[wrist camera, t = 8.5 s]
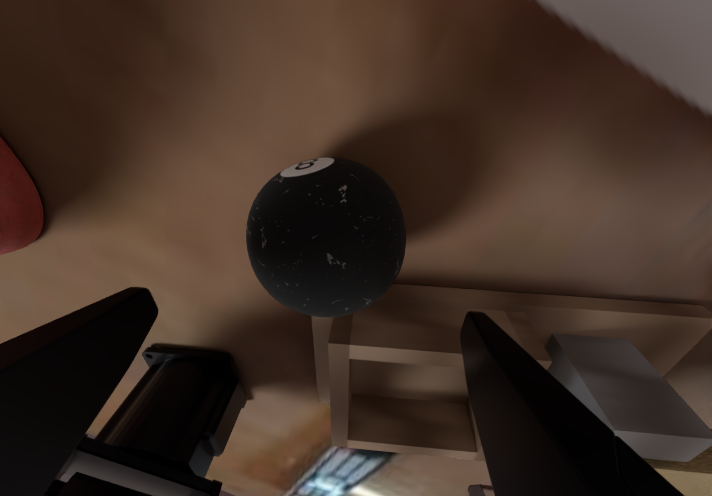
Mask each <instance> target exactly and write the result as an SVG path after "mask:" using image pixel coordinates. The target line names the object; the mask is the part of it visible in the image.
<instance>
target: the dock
mask: <svg viewBox="0 0 712 496" xmlns="http://www.w3.org/2000/svg"><path fill="white" fill-rule="evenodd" d="M468 311H479V312H484V313H485V314H487V315H488V316H489V317H490V318H491V319H492V320H493V321H494V322H495V323H496V324H497V325H499V326H500V327H501V328H502V329H503V330H504V331H505V332H506V333H507V334H508V335H509V336H510V337H512V338H513V339H514V340H515V341H516V342H517V343H518V344H519V345H520V346H521V347H522V348H523V349H525V350H526V351H527V352H528V353H529V354H530V355H531V356H532V357H533V358H534V359H535V360H536V361H538V362H539V363H540V364H541V365H542V366H543V367H544V368H545V369H546V370H547V371H548V372H549V373H551V374H552V375H553V376H554V377H555V378H556V379H557V380H558V381H559V382H560V383H561V384H562V385H564V386H565V387H566V388H567V389H568V390H569V391H570V392H571V393H572V394H573V395H574V396H575V397H576V398H578V399H579V400H580V401H581V402H582V403H583V404H584V405H585V406H586V407H587V408H588V409H589V410H591V411H592V412H593V413H594V414H595V415H596V416H597V417H598V418H599V419H600V420H601V421H602V422H604V423H605V424H606V425H607V426H608V427H609V428H610V429H611V430H612V431H613V432H614V433H615V436H619V437H620V438H621V439H622V440H623V441H624V442H625V443H626V444H628V445H629V446H630V447H631V448H632V449H633V450H634V451H635V452H636V453H637V454H638V455H639V456H641V457H642V458H649V459H659V460H670V461H680V462H688V461H690V460H691V459H693V458H694V457H696V456H697V455H698V454H700V453H701V452H703V451H704V450H706V449H707V448H709V447H710V446H712V431H711V430H710V429H709V428H708V426H707V425H706V424H705V423H704V422H703V421H702V420H701V419H700V418H699V417H698V415H697V414H696V413H695V412H694V411H693V410H692V409H691V408H690V407H689V406H688V404H687V403H686V402H685V401H684V400H683V399H682V398H681V397H680V396H679V395H678V393H677V392H676V391H675V390H674V389H673V388H672V387H671V386H670V385H669V384H668V382H667V381H666V380H665V379H664V378H663V377H664V376H665V375H666V374H667V373H668V372H669V371H670V370H671V369H672V368H673V367H674V366H675V365H676V364H677V363H678V362H679V361H680V360H681V359H682V358H683V357H684V356H685V355H686V354H687V353H688V352H689V351H690V350H691V349H692V348H693V347H694V346H695V345H696V344H697V343H698V342H699V341H700V340H701V339H702V338H703V337H704V336H705V335H706V334H707V333H708V332H709V331H710V330H711V329H712V312H710V311H709V310H708V309H706V308H705V307H704V306H702V305H690V304H675V303H661V302H647V301H632V300H618V299H604V298H589V297H575V296H561V295H546V294H532V293H518V292H503V291H489V290H475V289H460V288H446V287H432V286H417V285H403V284H392V286H391V287H390V288H389V289H388V291H387V292H386V293H385V294H384V295H383V296H382V297H381V298H379V299H378V300H377V301H376V302H374V303H373V304H371V305H370V306H368V307H366V308H364V309H362V310H360V311H358V312H355V313H352V314H348V315H344V316H339V317H328V318H327V317H316V316H311V319H312V331H313V344H314V356H315V368H316V381H317V393H318V402H321V403H330V407H331V432H332V446H338V447H348V448H358V449H368V450H378V451H388V452H398V453H408V454H418V455H428V456H438V457H448V458H458V459H468V460H478V461H486V460H485V457H484V453H483V449H482V445H481V441H480V438H479V434H478V430H477V426H476V423H475V419H474V415H473V411H472V407H471V403H470V399H469V395H468V389H467V383H466V376H465V370H464V363H463V356H462V350H461V343H460V331H461V328H462V325H463V322H464V319H465V316H466V313H467V312H468Z"/></svg>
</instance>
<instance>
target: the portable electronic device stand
mask: <svg viewBox="0 0 712 496" xmlns="http://www.w3.org/2000/svg"><path fill="white" fill-rule="evenodd" d="M468 492H469V495H470V496H485V494H484V492H483V489H482V487H481V485H470V486H469V488H468Z"/></svg>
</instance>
